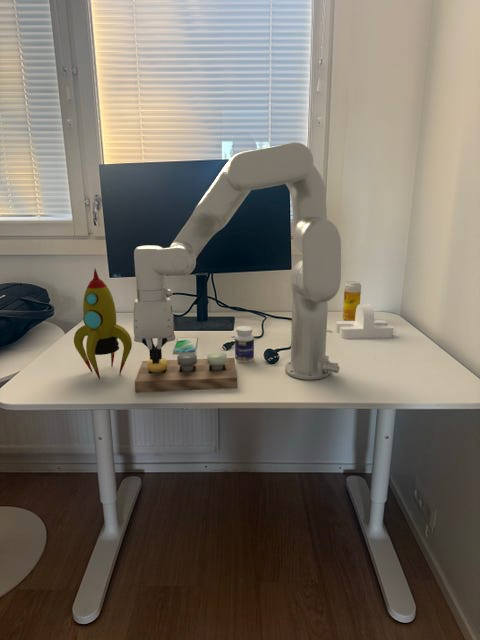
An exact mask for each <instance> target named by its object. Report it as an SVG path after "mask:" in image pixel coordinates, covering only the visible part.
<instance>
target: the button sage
mask: <svg viewBox="0 0 480 640" xmlns="http://www.w3.org/2000/svg"><path fill="white" fill-rule="evenodd" d="M227 358H228V356H227V353H225V352H224V351H223V352H221V351H214V352H210V353H208V354H207V357H206V359H207V362H208V364H211V365H212V371H223V364H225V363H226V362H227Z"/></svg>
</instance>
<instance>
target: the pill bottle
mask: <svg viewBox="0 0 480 640" xmlns="http://www.w3.org/2000/svg"><path fill="white" fill-rule="evenodd" d="M235 332H236V333H237V334H236V335H235V336H234V359H235V362H239V363H251V362H252V361H254V359H255V337H254V335H253V334H252V333H253V327H251V326H248V325H247V326H246V325H242V326H237V327H236V331H235Z"/></svg>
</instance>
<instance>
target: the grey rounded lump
mask: <svg viewBox="0 0 480 640" xmlns="http://www.w3.org/2000/svg"><path fill="white" fill-rule="evenodd" d="M176 356H177V357H176V358H177V359H176V360H177V362H178V365H180V366H182V372H193V365H195V364H196V363H197V359H198V355H197V353H195V354H193V353H183V354H177V355H176Z"/></svg>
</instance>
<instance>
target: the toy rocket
mask: <svg viewBox="0 0 480 640" xmlns="http://www.w3.org/2000/svg"><path fill="white" fill-rule="evenodd" d="M115 306H116V305H115V302H114V298H113V295H112V293H111V291H110V288H109V286H107V285H106V284H105V282H104V281H103V279H100V278H99V275H98V272H97V269H96V268H94V271H93V278H92V280H90V281H89V283H88V285H87V287H86V288H85V291H84V296H83V303H82V313H83V317H82V322H83V323H84V324H83V325H82V326H81V327H79V328H78V329H77V330H76V331H75V334H74V337H73V343H74V344H73V345H74V347H75V349H76V352H78V354H79V355H80V357H81V359H83V360H82V361H83V362H84V363H85V365H86V366H87V368H88V369H89V371H90V373H93V371H94V372H95V374H96V376H97V378H98V379H99V380H100V379H101V378H100V377H101V375H100V373H99V372H100V371H99V367H98V366H99V365H98V361H97V358H96V356H104V355H110V358H111V359H110V360H111V362H110V364H111V368H113V367H114V366H113V365H114V359H115V354H116V352H117V351H119V350H120V346H119V344H120V343H119V341H118V340H120V341H121V343H122V346H123V351H122V357H121V363H120V367H119V368H120V369H119V374H121V373H122V371H123V369H124V366H125V364H126V361H127V359H128V358H129V355H130V353H131V350H132V348H133V343H132V342H133V341H132V337H131V335H130V333H129V331H127V330H126V328H124V327H123V326H121V325H120V324H117V310H116V307H115ZM86 337H87V338H86ZM85 338H86V343H85V346H86V349H85V347H84V343H83V342H84V339H85Z"/></svg>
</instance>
